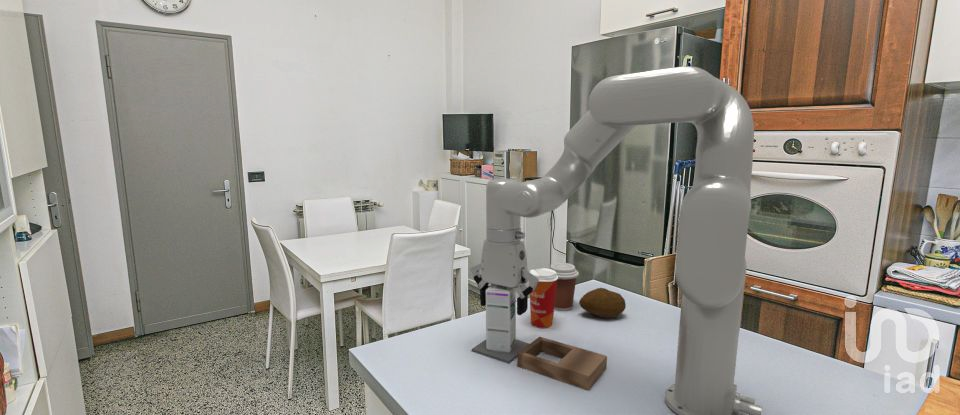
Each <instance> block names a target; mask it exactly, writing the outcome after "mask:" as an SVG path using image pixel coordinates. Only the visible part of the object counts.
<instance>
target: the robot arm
mask: <svg viewBox="0 0 960 415" xmlns="http://www.w3.org/2000/svg"><path fill="white" fill-rule="evenodd" d="M587 104H588V110H587V111H586V112H585V113H584V114H583V116H582V117H580V119H579V120H577V122H576V123H575V124H574V125H573V126H572V127H571V129H570V130H569V131H568V132H566V134H565V135H564V138H563V146H564V148H563V152H562V154H561V155H560V157H559V159H558V160H557V161H556V163H554V165H552V167H551V168H550V169H549V170H548V171H547V172H546V174H544V175H543V176H542V177H541V178H536V179H532V180H528V181H527V180H526V181H522V182H521V181H520V182H519V180H516V179H513V178H495V179H490V180H488V181H487V183H486V190H485V197H486V198H485V199H486V200H485V203H486V204H485V205H486V207H485V208H486V209H485V211H486V212H485V213H486V220H485V222H486V223H485V224H486V227H485V228H486V231H485V232H486V235H485V236H486V238H485V239H484V241H483V246H482V249H481V258H480V259H481V260H480V263H479V264H476V265H474V266H471V267H470V271H471V275H472V276H473V280H474V281H475V283H476V285H477V288H478V289H479V300H480V306H481V307H484V306H485V307H486V290H487V288H488V287H489V286H490V285H491V284H494V285H499V286H504V287H509V288H514V289H515V290H516V293H517V294H516V295H518V297H517V298H516V314H517V316H522V315H524V314H525V313H527V311H528V307H529V306H528V301H529V296H530V293H531V292H533V291H534V290H535V287H536V286H537V284H538V282H539V279H538V278H536V277H535V276H534V275H532V274H531V273H530V271H528V257H527V250H526V246H525V241H522V239H525V238H526V233H525V232H522V228H521V217H522V218H527V219H529V218H530V219H533V218H536V217H539V216H541V215H544V214H546V213H550V212H552V211H555V210H557V209H558V208H559V207H561V206H562V205H563V204H564V203H566V201H567V200H568V199H570V198H571V196H572V195H573V194H575V192H576V191H577V190H578V189H579V188H580V187H581V186H582V185H583V184H584V183H585V182H586V180H587V179H588V178H589V177H590V175H592V173H593V172H594V171H595V169H596V167H597V166H598V165H599V164H601V162H602V161H603V160H604V159H605V158H606V157H607V156H608V154H610V152H612V151H613V149H615V148H616V147H617V145H619V144H620V143H621V142H622V141H623V140H624V139H625V138H626V137H627V136H628V135H629V134H630V133H631V132H632V131H633V130H635V128H636V127H637V126H643V125H644V126H648V125H657V124H659V125H660V124H674V123H690V124H692V125H694V127H695V128H696V132H697V141H696V148H695V163H694V164H695V165H694V166H695V167H694V176H693V177H694V178H693V182H692V187H690V188H689V189H688V191H687V192H686V193H685V195H684V196H683V199H682V202H681V206H680V209H679V216H678V218H679V219H678V229H677V230H678V231H677V233H678V234H677V243H676V244H677V246H676V258H675V259H676V260H675V274H674V275H675V280H676V284H677V288H678V290H679V291H680V292H681V303H680V304H681V305H680V315H679V316H680V317H679V324H678V338H677V339H678V340H677V348H676V349H677V351H676V352H677V353H676V365H675V378H674V383H673V384H671V385H668V387H667V388H666V389H665V392H664V401H665V403H666V405H667V406H668V407H669V408H670V410H672V412H674V413H675V414H677V415H742V413H743V414H747V415H762V408H763V407H762V406H761V405H758V404H756V403H755V402H756V401H755V400H756V399H755V398H752V397H748V396H744V395H742V394H741V393H738V392H737V390H738V385H737V384H735V374H736V367H737V366H736V365H737V354H738V345H739V335H740V330H741V328H740V327H741V321H742V320H741V319H742V317H741V316H742V312H743V311H742V309H743V299H744V293H745V292H744V291H745V284H746V276H747V260H746V252H747V251H746V248H747V238H748V230H749V220H750V215H751V210H752V196H751V185H752V184H751V183H752V173H753V162H754V158H753V157H754V156H753V155H754V144H755V143H754V141H755V126H754V118H753V114H752V111H751V108H750V106H749V104H748V102H747V101H746V99H745V97H744V96H743V95H742V94H741V93H740V92H739V91H738V90H737V89H735V87H734V86H731V85H730V84H728V83H727V82H725V81H723V80H721V79H720V78H717V77H715V76H714V75H712V74H711V73H710V72H709V71H706V70H705V69H703V68H700V67H697V66H691V65H690V66H689V65H687V66H676V67H669V68H662V69H661V68H660V69H656V70H655V69H654V70H648V71H641V72H640V71H639V72H633V73H632V72H631V73H624V74H617V75H611V76H609V77H605V78H604V79H601V80H600V81H599V82H598V83H596V85H594V87H593V89H592V90H591V93H590V95H589V98H588V103H587ZM528 282H529V283H530V284H529V283H528ZM527 283H528V286H527V285H526V284H527Z"/></svg>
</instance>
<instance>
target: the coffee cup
mask: <svg viewBox="0 0 960 415" xmlns="http://www.w3.org/2000/svg"><path fill="white" fill-rule="evenodd" d="M548 269H551V270H554V271H556V273H557V276H558V279H557V282H556V293H555V304H554V311H555V310H556V311H562V312H563V311H564V312H565V311H566V312H567V311H570V310H573V307H574V298H575V290H576V281H577V278H578V277H579V276H580V274H579V271H578V270H577V269H576V266H575V265H574V264H572V263H568V262H553V263H552V264H550V266H549V268H548Z"/></svg>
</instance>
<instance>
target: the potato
mask: <svg viewBox="0 0 960 415" xmlns="http://www.w3.org/2000/svg"><path fill="white" fill-rule="evenodd" d="M578 304H579V306H580V308H581V309H583V310H584V311H585V312H587V313H588V314H592V315H595V316H598V317H600V318H604V319H605V318H606V319H607V318H608V319H610V318H611V319H612V318H615V317H618V316H620V315H621V314H622V313H623V312H624V311H625V309H626V307H627V306H626V299H625V298H624V297H623V296H622V295H621V294H620V293H619V292H615V291H612V290H609V289H607V288H605V287H604V288H603V287H598V288H595V289H592V290H589V291H587V292H586V293H585V294H584V295H583V296H581V298H580V299H579V301H578Z"/></svg>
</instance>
